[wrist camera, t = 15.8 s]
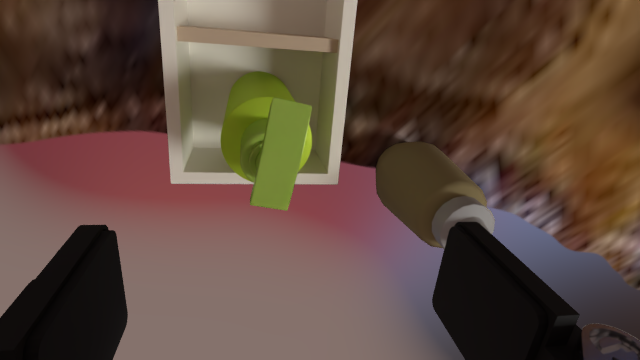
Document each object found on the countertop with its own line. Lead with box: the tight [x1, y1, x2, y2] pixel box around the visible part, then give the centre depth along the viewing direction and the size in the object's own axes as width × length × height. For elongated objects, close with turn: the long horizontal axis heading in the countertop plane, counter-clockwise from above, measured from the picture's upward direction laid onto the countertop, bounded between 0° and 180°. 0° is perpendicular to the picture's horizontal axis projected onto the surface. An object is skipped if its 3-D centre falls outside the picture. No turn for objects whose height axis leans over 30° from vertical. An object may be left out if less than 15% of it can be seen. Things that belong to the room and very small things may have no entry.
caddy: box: [158, 0, 357, 184], centre depth 31 cm, size 24×14×8 cm, turn 175°
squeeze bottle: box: [376, 142, 495, 249], centre depth 34 cm, size 8×8×18 cm
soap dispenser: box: [220, 71, 312, 210], centre depth 27 cm, size 6×7×20 cm
